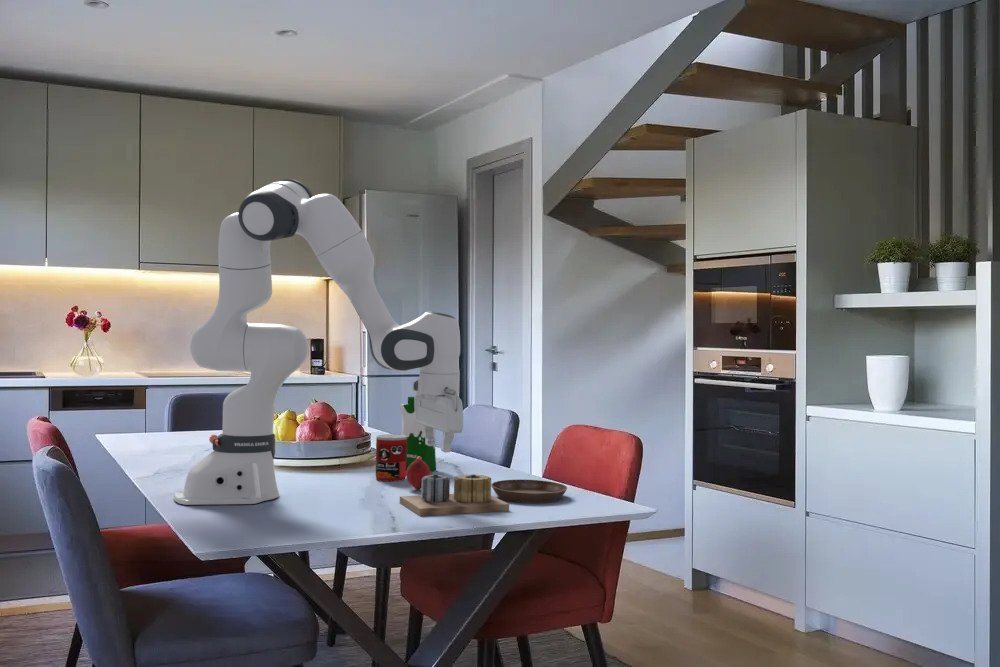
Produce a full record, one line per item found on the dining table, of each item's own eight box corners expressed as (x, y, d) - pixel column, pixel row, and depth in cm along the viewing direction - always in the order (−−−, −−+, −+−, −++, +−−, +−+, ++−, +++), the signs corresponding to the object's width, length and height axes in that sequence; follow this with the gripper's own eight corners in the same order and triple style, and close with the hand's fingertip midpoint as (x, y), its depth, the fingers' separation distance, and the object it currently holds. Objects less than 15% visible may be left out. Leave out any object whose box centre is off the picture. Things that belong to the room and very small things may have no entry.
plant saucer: (582, 499, 224) (583, 486, 224) (530, 508, 212) (530, 494, 212) (528, 489, 237) (528, 476, 237) (475, 497, 225) (475, 483, 225)
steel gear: (453, 501, 208) (453, 478, 208) (425, 503, 206) (426, 479, 206) (444, 497, 214) (444, 474, 214) (417, 498, 211) (418, 475, 211)
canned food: (369, 480, 244) (370, 436, 244) (385, 475, 251) (386, 433, 251) (396, 482, 241) (397, 438, 241) (411, 478, 248) (412, 435, 248)
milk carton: (395, 470, 260) (396, 396, 260) (415, 467, 268) (417, 395, 267) (421, 474, 255) (422, 398, 255) (441, 470, 263) (443, 396, 263)
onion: (426, 492, 228) (427, 458, 228) (402, 491, 229) (403, 457, 229) (432, 488, 233) (433, 455, 233) (410, 487, 235) (410, 454, 234)
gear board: (419, 515, 199) (420, 482, 199) (399, 502, 213) (400, 471, 213) (509, 511, 207) (509, 478, 207) (484, 498, 221) (484, 468, 221)
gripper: (471, 390, 204) (469, 455, 204) (435, 382, 222) (434, 441, 223) (443, 390, 201) (442, 456, 201) (409, 382, 220) (408, 442, 220)
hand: (437, 448), depth 212 cm, fingers open, 8 cm apart
